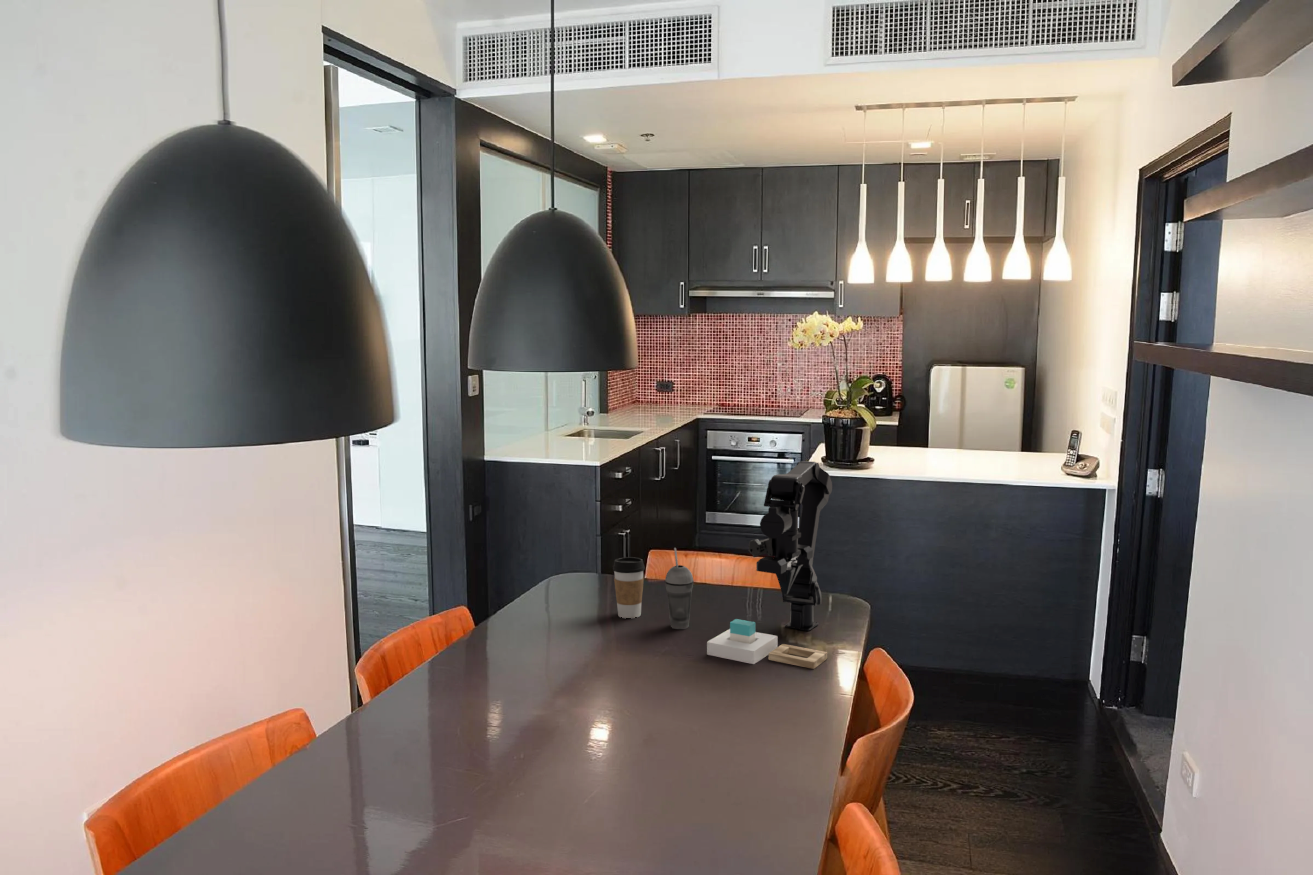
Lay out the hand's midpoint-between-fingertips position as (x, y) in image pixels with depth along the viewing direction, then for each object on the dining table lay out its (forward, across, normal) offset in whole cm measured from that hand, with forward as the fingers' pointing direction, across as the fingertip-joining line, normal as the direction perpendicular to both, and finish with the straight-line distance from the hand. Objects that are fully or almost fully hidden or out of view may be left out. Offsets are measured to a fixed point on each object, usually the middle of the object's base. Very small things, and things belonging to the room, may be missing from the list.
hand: (785, 594), depth 220 cm
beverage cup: (+12, +2, -28) cm, 31 cm away
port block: (+12, +10, -6) cm, 17 cm away
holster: (+12, +8, +7) cm, 16 cm away
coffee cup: (+12, +1, -44) cm, 46 cm away
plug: (+12, +10, -6) cm, 17 cm away
